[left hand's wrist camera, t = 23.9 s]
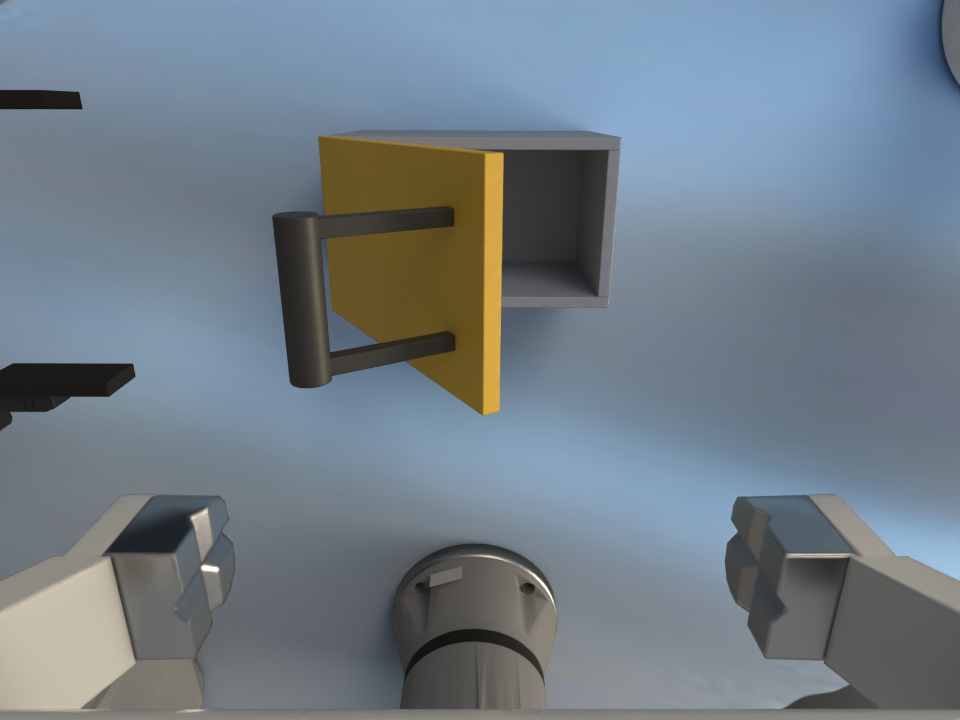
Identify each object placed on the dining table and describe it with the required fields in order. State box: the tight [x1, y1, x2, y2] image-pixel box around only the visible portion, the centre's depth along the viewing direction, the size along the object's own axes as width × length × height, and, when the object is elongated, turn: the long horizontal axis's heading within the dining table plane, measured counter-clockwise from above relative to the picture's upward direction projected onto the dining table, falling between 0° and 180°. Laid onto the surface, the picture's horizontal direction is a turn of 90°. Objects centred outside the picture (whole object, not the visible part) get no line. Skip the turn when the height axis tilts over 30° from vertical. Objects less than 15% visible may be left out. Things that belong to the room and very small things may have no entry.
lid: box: [272, 136, 504, 415], centre depth 30 cm, size 17×10×8 cm
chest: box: [330, 130, 621, 308], centre depth 44 cm, size 17×10×11 cm, turn 90°
